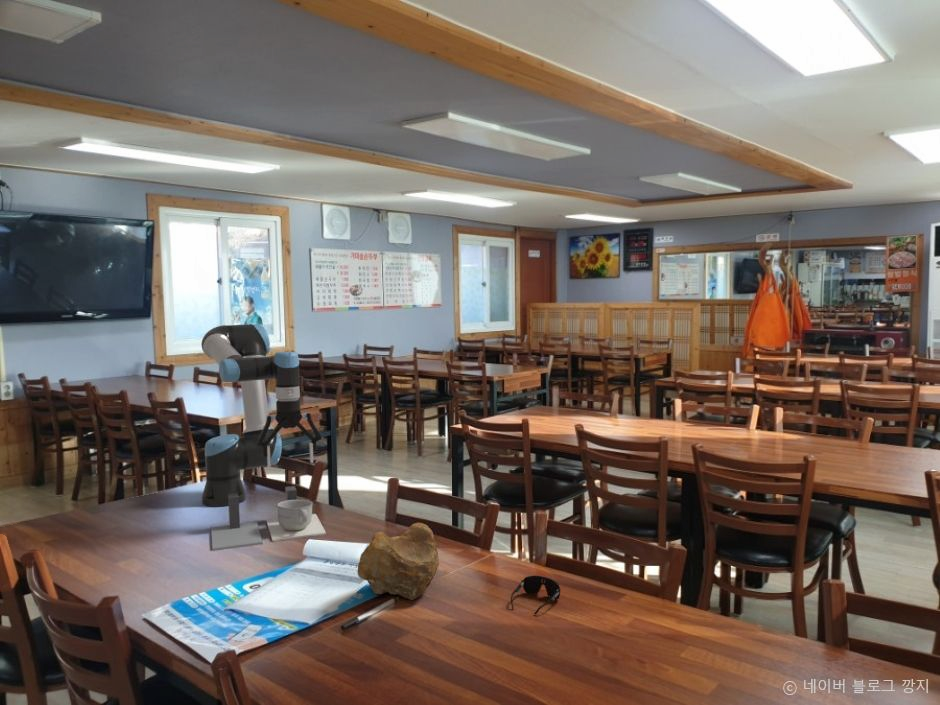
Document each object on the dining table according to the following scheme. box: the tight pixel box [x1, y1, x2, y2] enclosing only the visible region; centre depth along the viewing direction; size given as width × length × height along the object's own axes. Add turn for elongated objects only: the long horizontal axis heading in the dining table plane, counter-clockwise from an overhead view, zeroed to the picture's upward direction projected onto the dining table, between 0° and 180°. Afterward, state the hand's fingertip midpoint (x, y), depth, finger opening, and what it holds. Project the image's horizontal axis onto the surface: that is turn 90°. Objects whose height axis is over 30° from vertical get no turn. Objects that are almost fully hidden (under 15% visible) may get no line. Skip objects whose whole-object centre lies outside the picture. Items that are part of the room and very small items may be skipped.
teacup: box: [277, 499, 313, 530], centre depth 220 cm, size 14×11×8 cm
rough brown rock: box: [357, 522, 440, 601], centre depth 175 cm, size 23×17×15 cm
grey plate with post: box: [266, 485, 327, 542], centre depth 224 cm, size 21×16×11 cm
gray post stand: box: [210, 493, 263, 551], centre depth 216 cm, size 21×14×11 cm, turn 21°
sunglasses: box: [510, 575, 561, 615], centre depth 167 cm, size 10×12×5 cm
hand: (290, 464), depth 229 cm, fingers open, 13 cm apart
